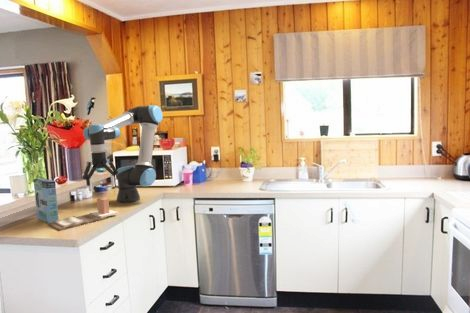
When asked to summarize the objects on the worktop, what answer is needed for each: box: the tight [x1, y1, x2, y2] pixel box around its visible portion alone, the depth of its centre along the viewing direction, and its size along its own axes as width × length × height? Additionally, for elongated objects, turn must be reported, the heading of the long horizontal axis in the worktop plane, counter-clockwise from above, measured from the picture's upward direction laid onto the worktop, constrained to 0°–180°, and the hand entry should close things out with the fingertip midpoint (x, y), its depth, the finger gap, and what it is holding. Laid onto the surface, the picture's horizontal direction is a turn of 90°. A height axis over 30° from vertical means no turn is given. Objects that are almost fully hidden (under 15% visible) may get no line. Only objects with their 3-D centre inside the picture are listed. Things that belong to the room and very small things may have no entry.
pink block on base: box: [89, 197, 119, 218], centre depth 209 cm, size 10×14×9 cm
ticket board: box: [47, 213, 108, 232], centre depth 198 cm, size 25×16×2 cm, turn 137°
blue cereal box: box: [33, 177, 59, 224], centre depth 205 cm, size 19×5×23 cm, turn 47°
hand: (102, 188), depth 208 cm, fingers open, 13 cm apart
